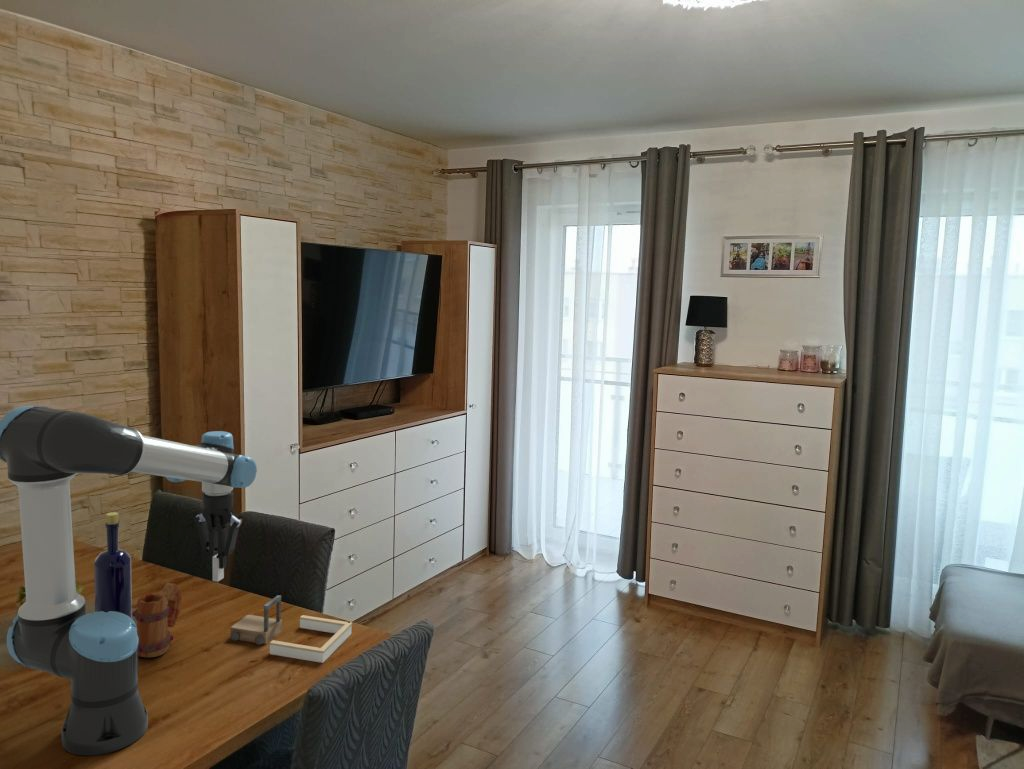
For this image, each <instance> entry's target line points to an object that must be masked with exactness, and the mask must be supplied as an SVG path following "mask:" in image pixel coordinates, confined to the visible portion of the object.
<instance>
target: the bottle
mask: <svg viewBox="0 0 1024 769" xmlns="http://www.w3.org/2000/svg"><path fill="white" fill-rule="evenodd" d="M105 514H106V515H105V516H106V517H105V518H106V522H105V529H106V546H107V547H106V549H107V550H104V551H101V552H100V553H99V554H98V555H97V557H95V560H94V566H93V571H94V572H93V573H94V575H93V576H94V577H93V578H94V612H99V611H104V612H109V611H114V612H119V613H123V614H125V615H127V616H129V617H130V618H132V619H133V616H132V613H133V609H132V607H133V606H132V605H133V603H132V601H133V600H132V556H131V555H130V554H129V552H127V550H125V549H121V548H119V527H120V521H119V512H115V511H113V512H107V513H105Z"/></svg>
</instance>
